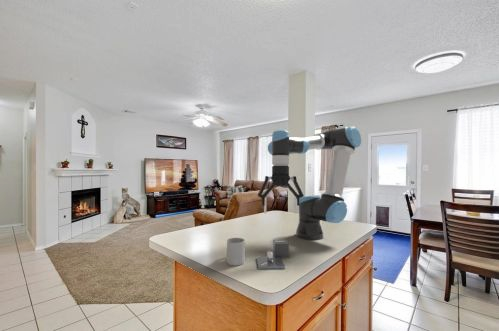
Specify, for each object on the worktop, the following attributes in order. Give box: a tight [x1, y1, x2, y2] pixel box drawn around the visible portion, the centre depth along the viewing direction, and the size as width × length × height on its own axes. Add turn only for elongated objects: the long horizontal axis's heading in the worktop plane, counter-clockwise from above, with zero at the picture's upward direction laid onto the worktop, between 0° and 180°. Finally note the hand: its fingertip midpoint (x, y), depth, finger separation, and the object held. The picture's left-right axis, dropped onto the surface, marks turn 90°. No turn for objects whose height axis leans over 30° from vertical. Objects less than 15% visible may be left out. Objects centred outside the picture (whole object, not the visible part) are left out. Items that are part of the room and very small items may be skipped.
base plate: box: [256, 250, 286, 270], centre depth 91 cm, size 10×10×4 cm
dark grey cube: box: [272, 238, 290, 259], centre depth 100 cm, size 6×6×6 cm
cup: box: [226, 237, 246, 267], centre depth 93 cm, size 7×10×9 cm
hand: (280, 213), depth 100 cm, fingers open, 13 cm apart
